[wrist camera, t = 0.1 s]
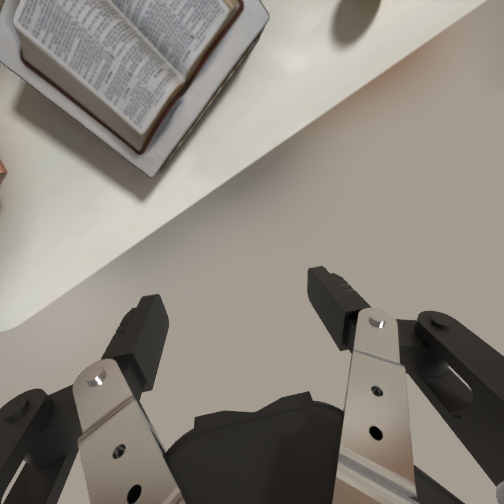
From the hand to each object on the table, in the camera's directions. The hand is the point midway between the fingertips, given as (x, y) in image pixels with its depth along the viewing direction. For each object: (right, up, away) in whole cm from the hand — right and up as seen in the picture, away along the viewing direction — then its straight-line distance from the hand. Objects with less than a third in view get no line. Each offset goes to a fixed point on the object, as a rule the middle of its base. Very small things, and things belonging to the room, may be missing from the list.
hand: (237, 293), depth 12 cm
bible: (-13, +29, +17) cm, 36 cm away
